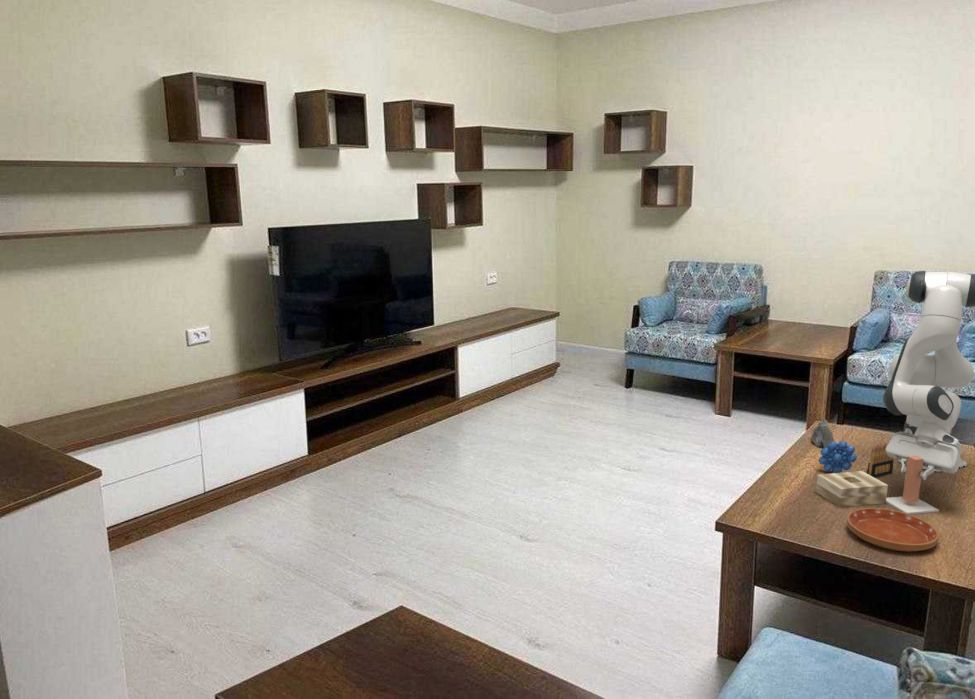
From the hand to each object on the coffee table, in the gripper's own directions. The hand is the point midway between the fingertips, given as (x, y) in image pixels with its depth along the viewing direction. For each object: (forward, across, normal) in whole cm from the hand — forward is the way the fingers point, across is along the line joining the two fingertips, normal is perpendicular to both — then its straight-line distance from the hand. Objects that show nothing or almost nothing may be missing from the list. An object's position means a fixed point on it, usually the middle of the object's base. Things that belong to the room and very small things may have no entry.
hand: (912, 475), depth 232 cm
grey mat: (+7, 0, +8) cm, 10 cm away
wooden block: (+6, 0, +6) cm, 8 cm away
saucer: (+25, +6, -10) cm, 28 cm away
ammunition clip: (-6, -17, +21) cm, 28 cm away
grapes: (0, -28, +14) cm, 31 cm away
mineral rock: (-17, -46, +32) cm, 59 cm away
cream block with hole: (+12, -14, +2) cm, 19 cm away
